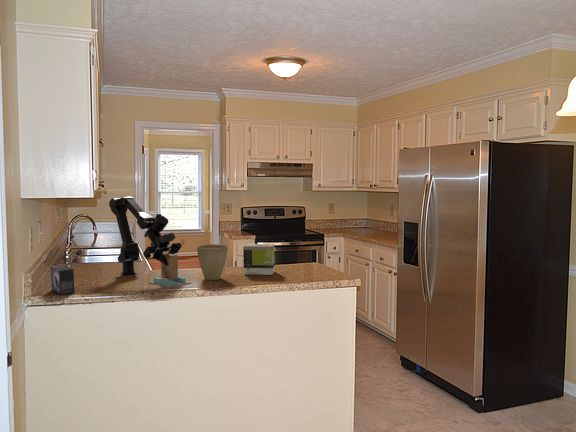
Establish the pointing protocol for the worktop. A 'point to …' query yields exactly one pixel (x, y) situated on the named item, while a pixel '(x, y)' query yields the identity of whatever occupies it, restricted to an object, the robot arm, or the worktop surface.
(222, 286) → the worktop surface
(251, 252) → the tea box
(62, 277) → the small box
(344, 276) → the worktop surface
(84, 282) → the worktop surface
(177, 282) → the rack
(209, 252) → the plant pot
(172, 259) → the brown upright block
